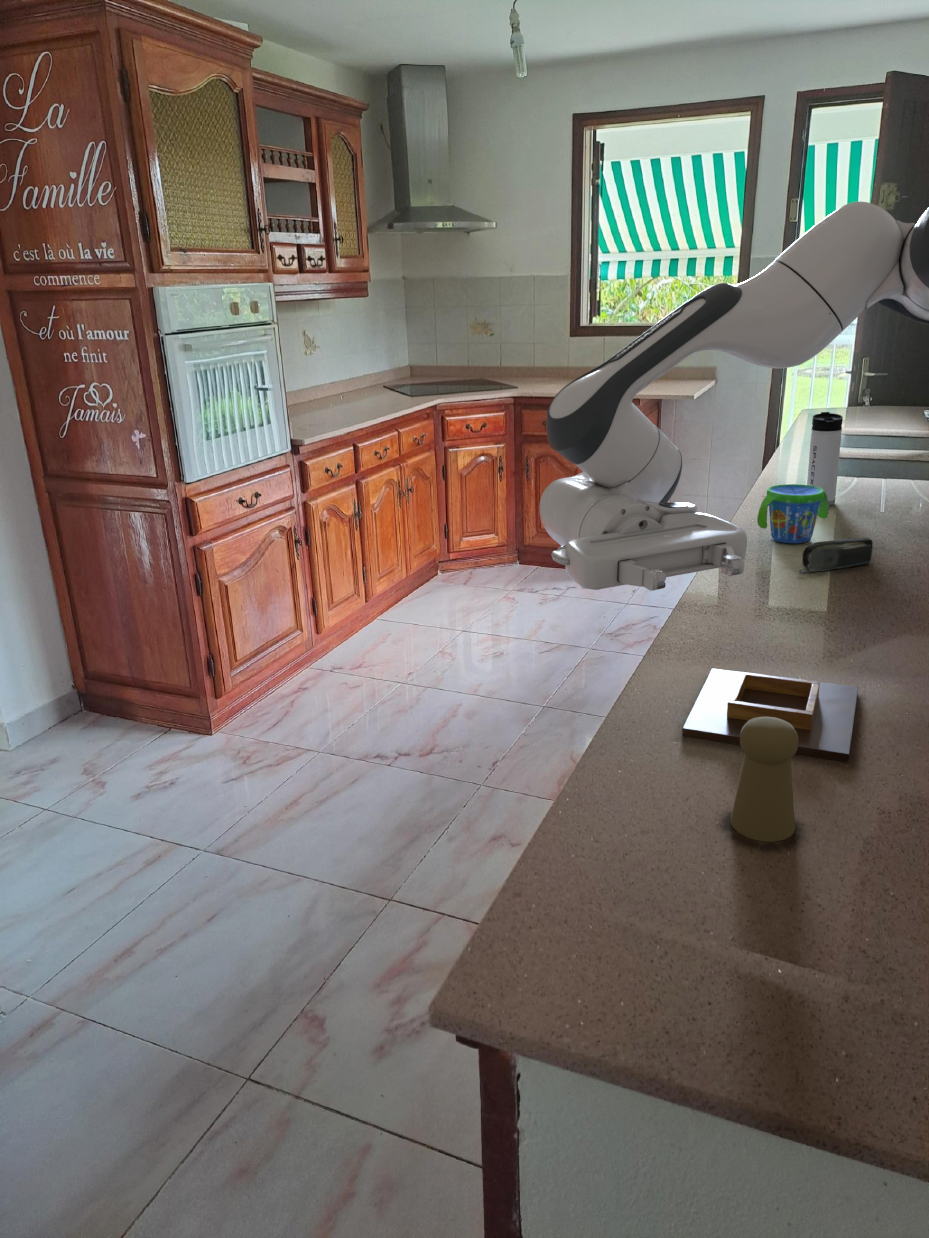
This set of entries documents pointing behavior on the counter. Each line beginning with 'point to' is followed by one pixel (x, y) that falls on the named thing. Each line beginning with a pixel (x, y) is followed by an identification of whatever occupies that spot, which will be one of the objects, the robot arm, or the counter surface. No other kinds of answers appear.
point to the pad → (776, 710)
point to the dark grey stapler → (837, 554)
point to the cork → (766, 781)
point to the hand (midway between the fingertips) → (699, 575)
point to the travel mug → (825, 453)
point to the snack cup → (793, 511)
